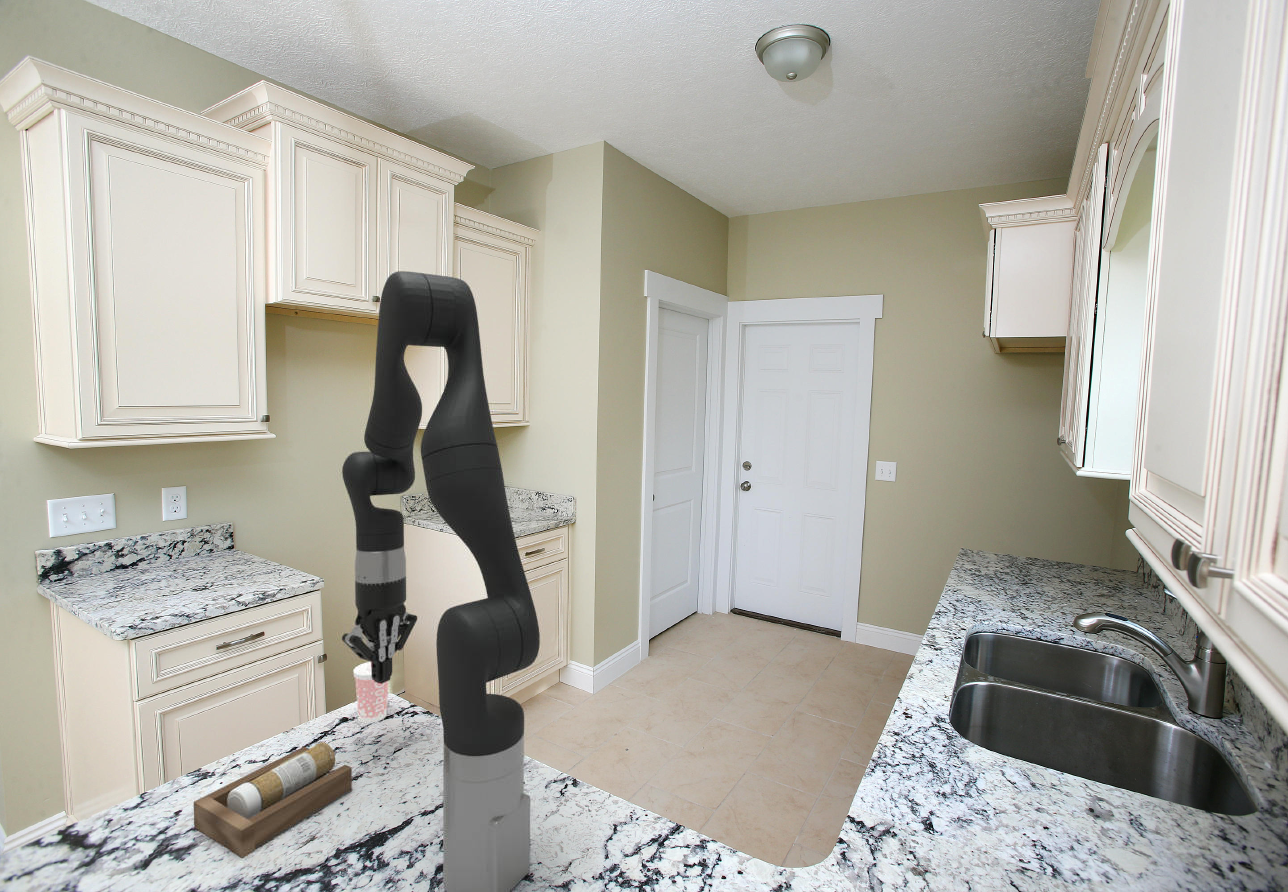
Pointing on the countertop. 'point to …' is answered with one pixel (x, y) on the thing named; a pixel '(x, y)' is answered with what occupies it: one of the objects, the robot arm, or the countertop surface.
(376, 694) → the beverage cup
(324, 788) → the u rest
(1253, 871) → the countertop surface
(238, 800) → the sprinkles bottle
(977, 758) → the countertop surface
